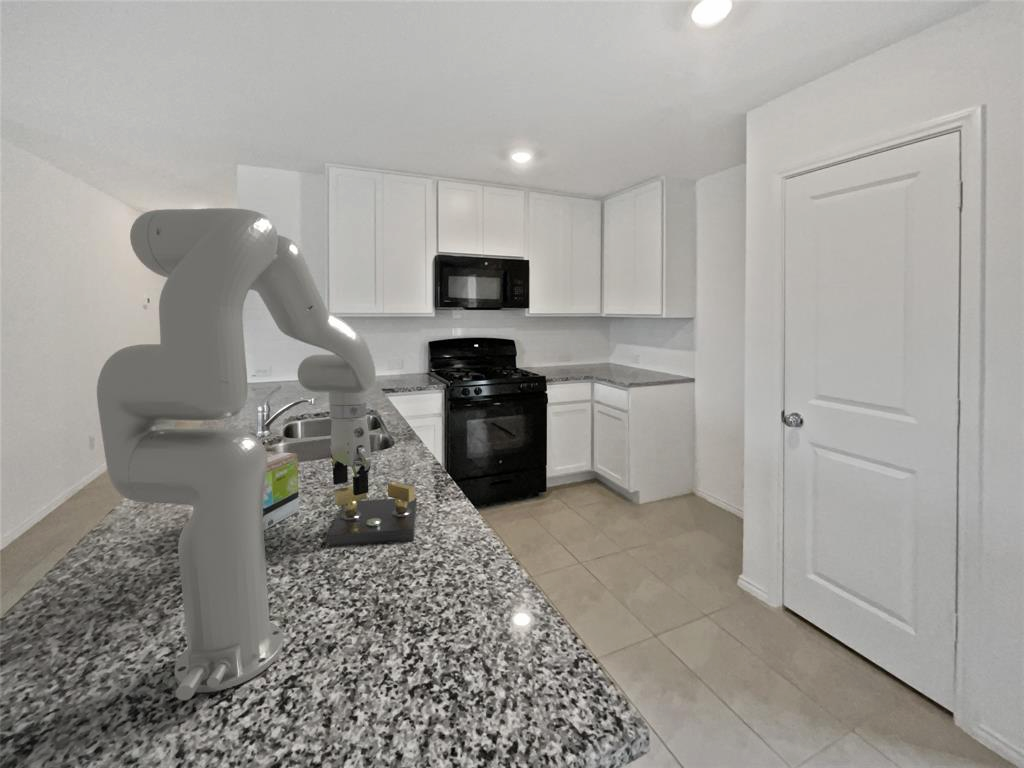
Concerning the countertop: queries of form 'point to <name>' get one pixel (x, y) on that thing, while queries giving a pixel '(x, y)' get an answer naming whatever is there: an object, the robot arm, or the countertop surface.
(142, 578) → the countertop surface
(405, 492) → the knob
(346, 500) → the knob
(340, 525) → the base
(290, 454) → the tea box
